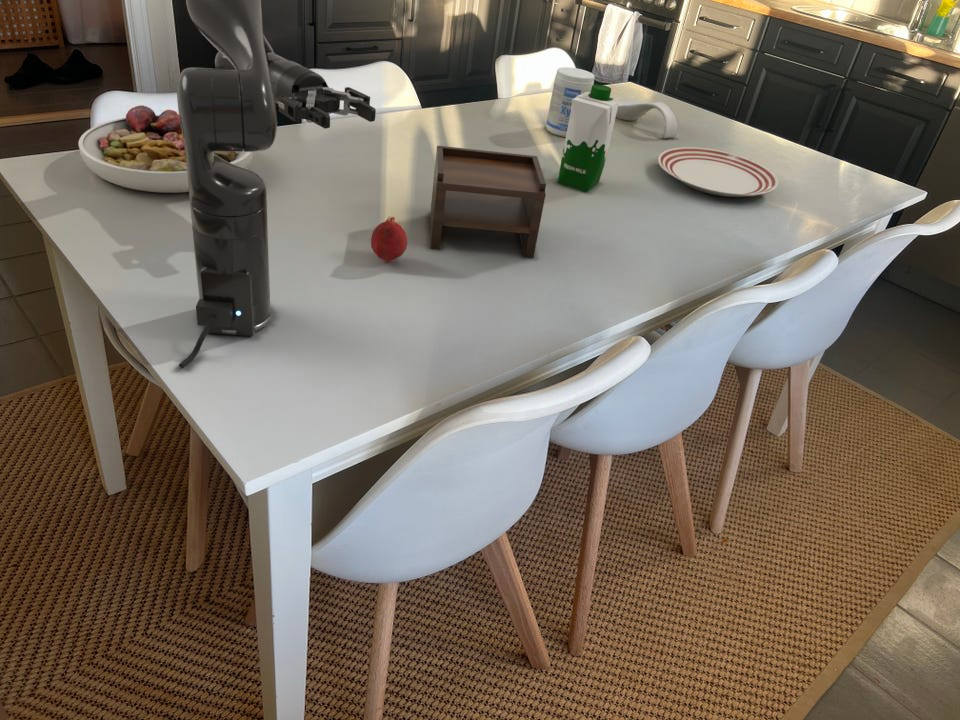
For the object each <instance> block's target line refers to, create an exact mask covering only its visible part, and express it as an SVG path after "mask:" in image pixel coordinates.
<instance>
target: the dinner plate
mask: <svg viewBox="0 0 960 720" xmlns="http://www.w3.org/2000/svg"><path fill="white" fill-rule="evenodd" d="M657 162H658V166H660V168H661V170H663V171H664V172H666V173H667V174H668V175H669V176H670V177H673V178H674V179H676V180H678V181H679V182H680V183H682V184H684V185H686V186H687V187H690V188H691V189H694V190H696V191H699V192H702V193H705V194H709V195H714V196H720V197H726V198H740V197H744V198H745V197H756V196H762V195H765V194H769V193H771V192H773V191H775V190H776V189H777V188H778V186H779V179H778V177H777V175H776V174H775V173H774V172H773V171H771V169H769V168H768V167H766V166H764V165H763V164H760V163H759V162H757V161H754V160H752V159H749V158H747V157H745V156H741V155H738V154H735V153H731V152H727V151H724V150H718V149H713V148H707V147H694V146H689V147H687V146H685V147H674V148H669V149H667V150H664V151H662V152H661V153H660V154H659V155H658V157H657Z"/></svg>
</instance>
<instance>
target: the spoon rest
mask: <svg viewBox="0 0 960 720" xmlns="http://www.w3.org/2000/svg"><path fill="white" fill-rule="evenodd" d="M612 98H613V97H612ZM613 99H614V100H619V105H618V109H617V113H616V117H615V118H617V119H618V120H619V119H620V120H623V121H630V122H632V121H636V120H638V119H640V118H642V117H643V116H645V115H646V114H647V113H649V111H651V110H652V109H656V110H658V111H659V112H660V113H661V115H662V118H663V121H664V125H663V131H662V139H670V138H676V136H677V133H678V124H677V119H676V117H675V114H674V113H673V111H672V110H671V108H670V107H669V106H668V105H667V104H666V103H664V102H661V101H656V102H646V101H642V100H638V99H635V98H627V97H614V98H613Z"/></svg>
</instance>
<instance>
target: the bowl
mask: <svg viewBox="0 0 960 720" xmlns="http://www.w3.org/2000/svg"><path fill="white" fill-rule="evenodd" d="M78 148H79V149H78V150H79V153H80V156H81V158H82V160H83V162H84V164H85V165H86V166H87V167H88V168H89V169H90V171H92V172H93V173H94V174H95V175H97V176H98V177H100V178H101V179H103V180H105V181H106V182H109V183H111V184H113V185H117V186H120V187H122V188H125V189H126V188H127V189H131V190H136V191H142V192H151V193H164V194H165V193H166V194H167V193H168V194H169V193H170V194H175V193H177V194H178V193H179V194H180V193H189V185H188V172H187V163H186V155H185V149H184V142H183V136H182V130H181V124H180V118H179V113H178V112H177V111H176V110H173V109H164V110H163V111H162V112H161V113H160V114H156V112H155V111H154V110H153V109H152V108H150V107H149V106H146V105H137V106H134V107H131V108H130V109H129V110H128V111H127V113H126V114H125V117H122V118H117V119H112V120H109V121H105V122H102V123H99V124H98V125H97V124H96V125H95V126H92V127H91V128H89V129H87V130H86V131H85V132H84V133H82V135H81V136H80V138H79V140H78ZM213 152H214V153H215V154H216V155H218V156H219V157H220V158H222V159H224V160H225V161H227V162H229V163H231V164H234V165H236V166H239V167H242V168H245V169H247V170H248V168H249V166H250V165H251V164H252V161H253V157H254V152H244V150H243V152H229V151H213Z"/></svg>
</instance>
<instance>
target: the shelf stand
mask: <svg viewBox="0 0 960 720" xmlns="http://www.w3.org/2000/svg"><path fill="white" fill-rule="evenodd" d="M434 162H435V163H434V171H433V172H434V173H433V183H432V191H431V203H430V212H429V213H430V214H429V228H430V231H429V232H430V233H429V237H430V238H429V239H430V242H429V243H430V246H429V247H430V249H431V250H438V251H439V250H441V240H442V233H443V226H444V227H454V228H462V229H463V228H465V229H474V230H487V231H495V232H496V231H497V232H505V233H506V232H507V233H518V234H519V238H520V242H521V246H522V247H521V248H522V252H523V256H524V258H529V259H530V258H531V259H534V257H535V254H536V253H535V251H536V246H537V242H538V236H539V231H540V226H541V222H542V216H543V210H544V205H545V200H546V187H547V182H546V179H545V177H544V172H543V169H542V167H541V164H540V160H539V158H538V156H537V155H531V154H521V153H512V152H511V153H510V152H503V151H492V150H484V149H475V148H474V149H473V148H465V147H454V146H446V145H436V153H435V161H434Z"/></svg>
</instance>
